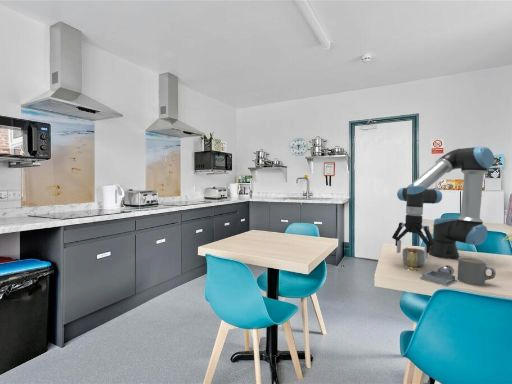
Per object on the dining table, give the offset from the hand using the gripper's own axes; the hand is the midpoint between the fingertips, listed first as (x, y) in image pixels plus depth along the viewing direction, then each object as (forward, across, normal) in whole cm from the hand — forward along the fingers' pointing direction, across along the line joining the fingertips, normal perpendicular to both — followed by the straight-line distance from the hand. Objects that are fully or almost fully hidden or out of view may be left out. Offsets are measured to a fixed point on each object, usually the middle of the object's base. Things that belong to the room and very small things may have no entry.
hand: (411, 255), depth 145 cm
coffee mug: (+7, +26, +5) cm, 27 cm away
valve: (+7, 0, 0) cm, 7 cm away
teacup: (+7, -4, +10) cm, 12 cm away
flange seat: (+7, +15, -4) cm, 17 cm away
